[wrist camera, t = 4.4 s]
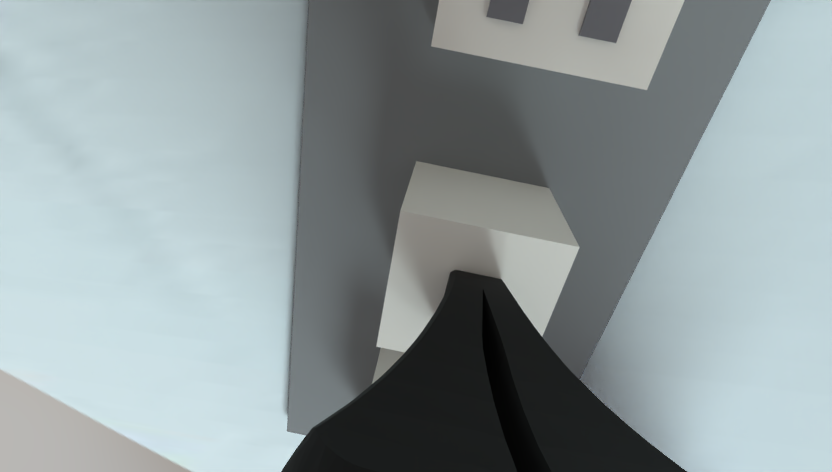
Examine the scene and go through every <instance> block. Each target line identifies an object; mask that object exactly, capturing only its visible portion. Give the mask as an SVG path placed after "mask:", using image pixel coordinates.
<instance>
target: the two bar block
mask: <svg viewBox="0 0 832 472" xmlns="http://www.w3.org/2000/svg"><path fill="white" fill-rule="evenodd" d="M684 1H685V0H439V4H438V10H437V15H436V21H435V26H434V32H433V38H432V43H431V46H432V47H437V48H442V49H447V50H452V51H457V52H461V53H466V54H471V55H476V56H481V57H486V58H491V59H496V60H501V61H506V62H511V63H516V64H520V65H525V66H530V67H535V68H540V69H545V70H550V71H555V72H560V73H565V74H570V75H575V76H580V77H584V78H589V79H594V80H599V81H604V82H609V83H614V84H619V85H624V86H629V87H634V88H639V89H644V90H647V89H648V86H649V84H650V82H651V79H652V77H653V74H654V72H655V70H656V67H657V65H658V63H659V60H660V58H661V55H662V53H663V51H664V48H665V46H666V44H667V41H668V39H669V36H670V34H671V32H672V29H673V27H674V24H675V22H676V20H677V17H678V15H679V13H680V10H681V8H682V5H683V3H684Z"/></svg>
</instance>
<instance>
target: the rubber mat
mask: <svg viewBox="0 0 832 472" xmlns="http://www.w3.org/2000/svg"><path fill="white" fill-rule="evenodd" d="M770 1H771V0H685V1H684V3H683V5H682V8H681V10H680V13H679V15H678V17H677V20H676V22H675V24H674V27H673V29H672V32H671V34H670V36H669V39H668V41H667V44H666V46H665V48H664V51H663V53H662V55H661V58H660V60H659V63H658V65H657V67H656V70H655V72H654V74H653V77H652V79H651V82H650V84H649V86H648V89H647V90H644V89H639V88H634V87H629V86H624V85H619V84H614V83H609V82H604V81H599V80H594V79H589V78H584V77H580V76H575V75H570V74H565V73H560V72H555V71H550V70H545V69H540V68H535V67H530V66H525V65H520V64H516V63H511V62H506V61H501V60H496V59H491V58H486V57H481V56H476V55H471V54H466V53H461V52H457V51H452V50H447V49H442V48H437V47H432V46H431V43H432V38H433V32H434V26H435V21H436V15H437V10H438V4H439V0H309V7H308V26H307V46H306V66H305V86H304V106H303V126H302V145H301V165H300V185H299V205H298V225H297V244H296V264H295V284H294V304H293V324H292V344H291V363H290V383H289V403H288V423H287V431H288V432H293V433H297V434H302V435H307V434H308V433H309V431H310V430H311V429H312V428H313V427H314V426H316V425H317V424H319V423H320V422H322V421H323V420H325V419H326V418H328V417H329V416H331V415H332V414H334V413H335V412H336V411H338V410H339V409H341V408H342V407H344V406H345V405H347V404H348V403H349V402H351V401H352V400H353V399H355V398H356V397H357V396H358V395H360V394H361V393H362V392H363V391H364V390H366V389H367V388H368V387H369V386H370V385H372V382H373V378H374V374H375V370H376V366H377V362H378V357H379V353H380V349H381V347H376V345H377V340H378V334H379V329H380V323H381V317H382V312H383V306H384V300H385V295H386V289H387V283H388V278H389V272H390V266H391V261H392V255H393V250H394V244H395V238H396V233H397V227H398V221H399V216H400V210H401V207H402V204H403V201H404V198H405V195H406V192H407V189H408V185H409V182H410V179H411V176H412V173H413V170H414V167H415V164H416V161H419V162H424V163H429V164H433V165H438V166H443V167H448V168H453V169H458V170H463V171H468V172H473V173H478V174H482V175H487V176H492V177H497V178H502V179H507V180H512V181H517V182H522V183H527V184H531V185H536V186H541V187H546V188H549V189H550V191H551V193H552V195H553V197H554V199H555V200H556V202H557V204H558V206H559V208H560V210H561V212H562V214H563V216H564V218H565V220H566V222H567V224H568V226H569V228H570V230H571V231H572V233H573V235H574V237H575V239H576V241H577V243H578V245H579V247H580V248H579V250H578V252H577V255H576V257H575V260H574V262H573V264H572V267H571V269H570V272H569V274H568V276H567V279H566V281H565V283H564V286H563V288H562V291H561V293H560V295H559V298H558V300H557V303H556V305H555V307H554V310H553V312H552V315H551V317H550V319H549V322H548V324H547V326H546V329H545V331H544V334H543V336H542V337H543V339H544V340H545V341H546V342H547V344H548V345H549V346H550V347H551V349H552V350H553V351H554V352H555V353H556V355H557V356H558V357H559V358H560V359H561V361H562V362H563V363H564V364H565V365H566V366H567V367H568V368H569V369H570V371H571V372H572V373H573V374H574V375H575V376H576V377H577V378H578V379H580V377H581V375H582V373H583V371H584V369H585V367H586V365H587V363H588V361H589V359H590V357H591V355H592V353H593V351H594V349H595V347H596V345H597V343H598V341H599V339H600V337H601V336H602V334H603V332H604V330H605V328H606V326H607V324H608V322H609V320H610V318H611V316H612V314H613V312H614V310H615V308H616V306H617V304H618V302H619V300H620V298H621V296H622V294H623V292H624V290H625V288H626V286H627V284H628V282H629V280H630V278H631V276H632V274H633V272H634V270H635V268H636V266H637V264H638V262H639V260H640V258H641V256H642V254H643V252H644V250H645V248H646V246H647V244H648V242H649V240H650V238H651V236H652V234H653V232H654V231H655V229H656V227H657V225H658V223H659V221H660V219H661V217H662V215H663V213H664V211H665V209H666V207H667V205H668V203H669V201H670V199H671V197H672V195H673V193H674V191H675V189H676V187H677V185H678V183H679V181H680V179H681V177H682V175H683V173H684V171H685V169H686V167H687V165H688V163H689V161H690V159H691V157H692V155H693V153H694V151H695V149H696V147H697V145H698V143H699V141H700V139H701V137H702V135H703V133H704V131H705V129H706V127H707V126H708V124H709V122H710V120H711V118H712V116H713V114H714V112H715V110H716V108H717V106H718V104H719V102H720V100H721V98H722V96H723V94H724V92H725V90H726V88H727V86H728V84H729V82H730V80H731V78H732V76H733V74H734V72H735V70H736V68H737V66H738V64H739V62H740V60H741V58H742V56H743V54H744V52H745V50H746V48H747V46H748V44H749V42H750V40H751V38H752V36H753V34H754V32H755V30H756V28H757V26H758V24H759V22H760V21H761V19H762V17H763V15H764V13H765V11H766V9H767V7H768V5H769V3H770Z"/></svg>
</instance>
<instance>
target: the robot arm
mask: <svg viewBox="0 0 832 472" xmlns="http://www.w3.org/2000/svg"><path fill="white" fill-rule="evenodd" d="M281 472H687V471H685V470H684V469H682V468H681V467H680V466H679V465H677V464H676V463H675V462H673V461H672V460H671V459H669V458H668V457H667V456H665V455H664V454H663V453H662V452H660V451H659V450H658V449H656V448H655V447H654V446H652V445H651V444H650V443H649V442H647V441H646V440H645V439H644V438H643V437H641V436H640V435H639V434H638V433H636V432H635V431H634V430H633V429H632V428H630V427H629V426H628V425H627V424H626V423H625V422H624V421H622V420H621V419H620V418H619V417H618V416H617V415H616V414H615V413H613V412H612V411H611V410H610V409H609V408H608V407H607V406H605V405H604V404H603V403H602V402H601V401H600V400H599V399H598V398H597V397H596V396H595V395H594V394H593V393H592V392H591V391H590V390H589V389H588V388H587V387H586V386H585V385H584V384H583V383H582V382H581V381H580V380H579V379H578V378H577V377H576V376H575V375H574V374H573V373H572V372H571V371H570V369H569V368H568V367H567V366H566V365H565V364H564V363H563V362H562V361H561V359H560V358H559V357H558V356H557V355H556V353H555V352H554V351H553V350H552V349H551V347H550V346H549V345H548V344H547V342H546V341H545V340H544V339H543V337H542V336H541V335H540V333H539V332H538V331H537V330H536V328H535V327H534V326H533V324H532V323H531V321H530V320H529V319H528V317H527V316H526V314H525V313H524V312H523V310H522V309H521V307H520V306H519V304H518V303H517V301H516V300H515V298H514V297H513V295H512V294H511V292H510V291H509V289H508V288H507V286H506V285H505V283H504V282H503V280H502V279H499V278H494V277H489V276H484V275H479V274H475V273H470V272H465V271H460V270H454V271H452V272H450V274H449V278H448V282H447V286H446V290H445V294H444V297H443V299H442V300H441V302H440V304H439V306H438V308H437V310H436V311H435V313H434V315H433V316H432V318H431V319H430V321H429V322H428V323H427V325H426V326H425V328H424V329H423V331H422V332H421V333H420V335H419V336H418V337H417V339H416V340H415V341H414V342H413V344H412V345H411V346H410V347H409V348H408V349H407V351H406V352H405V353H404V354H403V355H402V356H401V357H400V358H399V359H398V360H397V361H396V362H395V363H394V364H393V365H392V366H391V367H390V368H389V369H388V370H387V371H386V372H385V373H384V374H383V375H382V376H381V377H380V378H379V379H378V380H376V381H375V382H374V383H373V384H372V385H370V386H369V387H368V388H367V389H366V390H364V391H363V392H362V393H361V394H360V395H358V396H357V397H356V398H355V399H353V400H352V401H351V402H349V403H348V404H347V405H345V406H344V407H342V408H341V409H339V410H338V411H336V412H335V413H334V414H332V415H331V416H329V417H328V418H326V419H325V420H323V421H322V422H320V423H319V424H317V425H316V426H314V427H313V428H312V429H311V430H310V431H309V433H308V434H307V435H306V437H305V438H304V439H303V441H302V442H301V444H300V445H299V446H298V448H297V449H296V450H295V452H294V453H293V455H292V456H291V458H290V459H289V461H288V462H287V464H286V465H285V467H284V468H283V470H282V471H281Z"/></svg>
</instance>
